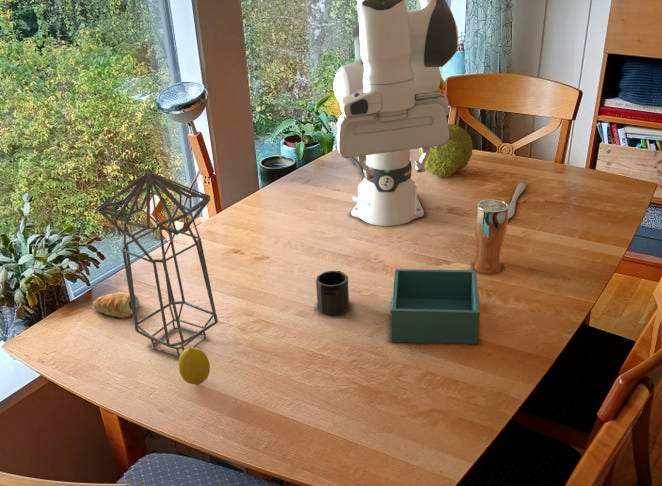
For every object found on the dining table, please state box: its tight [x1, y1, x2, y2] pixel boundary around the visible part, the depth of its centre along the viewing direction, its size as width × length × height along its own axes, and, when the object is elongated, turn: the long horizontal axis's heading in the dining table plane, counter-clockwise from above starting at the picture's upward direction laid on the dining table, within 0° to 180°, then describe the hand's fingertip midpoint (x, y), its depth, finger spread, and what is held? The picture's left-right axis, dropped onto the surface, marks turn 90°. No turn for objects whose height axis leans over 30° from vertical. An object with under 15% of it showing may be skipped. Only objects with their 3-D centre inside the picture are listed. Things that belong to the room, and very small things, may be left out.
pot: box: [315, 270, 350, 316], centre depth 154 cm, size 9×6×7 cm
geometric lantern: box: [93, 172, 219, 358], centre depth 137 cm, size 16×16×35 cm
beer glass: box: [473, 198, 509, 275], centre depth 163 cm, size 7×7×15 cm
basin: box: [390, 268, 481, 345], centre depth 148 cm, size 17×17×7 cm
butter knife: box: [508, 182, 527, 220], centre depth 196 cm, size 1×27×3 cm
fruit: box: [418, 123, 474, 178], centre depth 212 cm, size 16×14×15 cm
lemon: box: [177, 346, 211, 386], centre depth 133 cm, size 6×6×8 cm
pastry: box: [92, 291, 140, 319], centre depth 158 cm, size 9×7×4 cm
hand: (395, 175), depth 137 cm, fingers open, 8 cm apart
